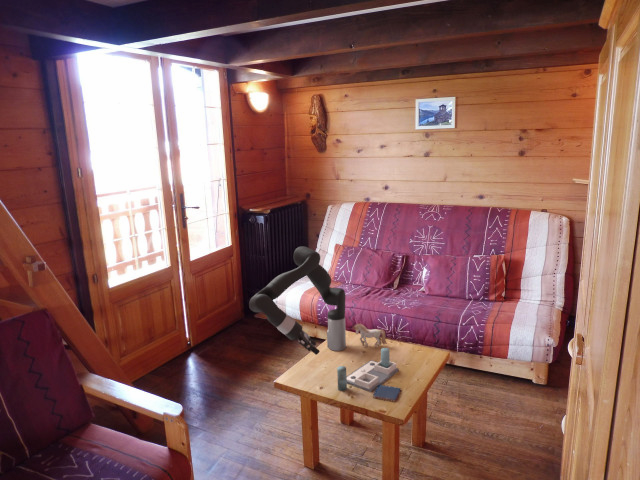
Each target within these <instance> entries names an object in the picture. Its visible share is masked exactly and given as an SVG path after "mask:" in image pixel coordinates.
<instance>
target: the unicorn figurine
mask: <svg viewBox="0 0 640 480" xmlns="http://www.w3.org/2000/svg"><path fill="white" fill-rule="evenodd" d="M352 329H354V330H355V335H359V334H360V337H359V341H360V343H361V345H363V347H362V348H364V349H366V348H368V347H369V343H367V338H368V339H372V338H374V339H375V340H376V342H375V343H374V349H377V348H378V347H380V346H381V345H384V346H385V345H388V342H387V337H386V331H385V330H384V329H377V328H375V329H368V328H367V327H366V326H365V325H363V324H362V323H357V324H355V325H354V326H353V327H352Z"/></svg>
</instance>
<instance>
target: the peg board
mask: <svg viewBox="0 0 640 480" xmlns="http://www.w3.org/2000/svg"><path fill="white" fill-rule="evenodd" d="M399 371H400V368H398V367H397V363H396V362H393V361H391V360H390V348H388V347H382V348H381V349H380V361H376V360H372V359H370V360H369V361H367V362H365V363H364V364H363V365H361V366H359V367H358V368H356V369H355V370H354V371H353V372H351V373H350V374H348V375H346V376H347V385H350V386H353V387H354V388H355V387H356V388H358V389H361V390H364V391H367V392H369V393H372V392H374V391H376V389H378V388H377V387H378V385H383V384H384V383H385V382H386V381H387V380H389V379H390V378H392V377H393V376H394V375H395V374H396V373H397V372H399Z"/></svg>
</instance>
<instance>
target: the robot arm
mask: <svg viewBox="0 0 640 480" xmlns="http://www.w3.org/2000/svg"><path fill="white" fill-rule="evenodd" d="M293 262H294V263H295V265H296V266H298V267H297V268H296V267H295V268H294V269H292V270H289V271H286V272H283V273H280V274H279V275H277V276H276V277H274V278H273V279H272V280H270V282H269V283H268V284H267V285H266V286H265V287H263V288H262V289H261V290H259V291H258V292H257V293H255V294H254V295H253V296H252V297H251V298H250V300H249V302H248V307H249V309H250V311H252V312H253V313H263V314H264V315H265V316H266V319H267V322H269V323H271V325H273V326H274V327H275V328H277V330H278V331H279V332H281V334H283V335H285V336H286V338H288V339H289V340H291V341H294V340H295V339H297V341H298V343H299V345H301V346H302V347H303V348H305V350H307V351H308V352H310V351H311V353H313V354H314V355H317V356H318V355H319V353H320V349H318V348H317V347H316V345H317V343H316V341H314V340H313V339H312V338H311V336H309V334H308V333H307V332H305V331H304V330H303V325H301V324H300V323H299V322H298V321H297V320H295V319H294V318H293V317H292V316H291V315H289V314H287V313H286V312H284V311H283V310H282V309H281V308H280V307H278V306H279V305H277V304H276V302H275V301H274V300H276V299H277V298H279V297H280V296H281V295H282V294H283V293H284V292H285V291H286V290H288V289H289V288H290V287H291V286H292V285H294V284H295V283H297V282H298V281H299V280H301V279H303V278H304V277H307V278H308V279H309V281H310V282H311V284H313V286H314V287H315V289H317V291H318V292H319V294H320V296H321V298H322V300H323V302H324V303H325V304H326V305H328V306H336V308H334V309H331V310H329V311H328V312H327V330H326V341H327V344H326V345H327V346H326V347H327V348H328V349H329V350H331V351H332V352H333V351H335V352H339V351H340V352H341V351H343V350H346V348H347V339H346V337H347V336H346V332H347V331H346V292H345V289H344V288H342V287H341V288H339V287H332V286H331V284H332V278H331V277H332V276H331V275H330V274H329V272H328V270H326V268H324V266H322V265H321V264H320V263H321V255H320V253H319V252H318V251H315V250H313V249H312V248H309V247H307V246H305V245H304V246H303V245H302V246H298V247H297V248H295V250H294V252H293Z"/></svg>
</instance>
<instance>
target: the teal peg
mask: <svg viewBox="0 0 640 480" xmlns="http://www.w3.org/2000/svg"><path fill="white" fill-rule="evenodd" d="M336 370H337V371H336V372H337V373H336V374H337V390H338V391H339V392H345V391H347V390H348V384H347V376H348V375H347V367H346V366H344V365H340V366H337V368H336Z"/></svg>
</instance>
